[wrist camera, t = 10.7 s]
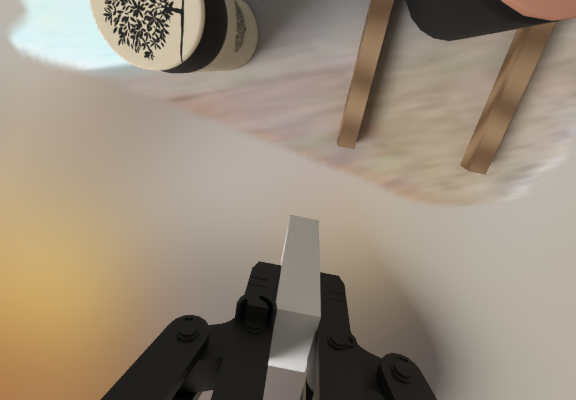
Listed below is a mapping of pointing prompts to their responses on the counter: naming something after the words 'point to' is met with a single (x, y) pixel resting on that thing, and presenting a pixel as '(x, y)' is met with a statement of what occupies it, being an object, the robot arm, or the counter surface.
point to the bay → (496, 109)
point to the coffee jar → (485, 15)
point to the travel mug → (178, 33)
